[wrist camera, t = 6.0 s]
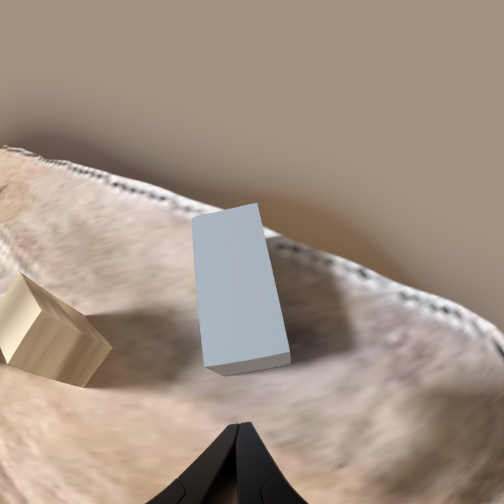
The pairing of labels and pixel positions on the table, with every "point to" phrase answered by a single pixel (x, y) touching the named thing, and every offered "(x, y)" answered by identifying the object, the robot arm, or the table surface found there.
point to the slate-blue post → (237, 294)
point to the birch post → (48, 335)
